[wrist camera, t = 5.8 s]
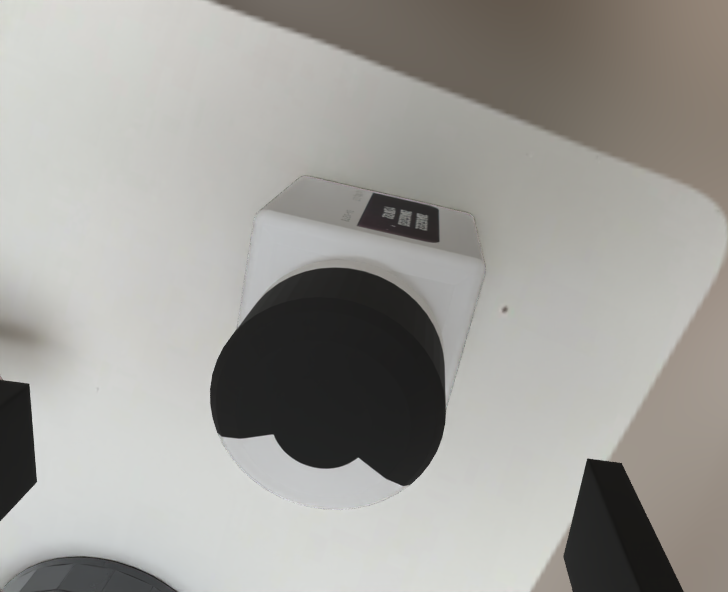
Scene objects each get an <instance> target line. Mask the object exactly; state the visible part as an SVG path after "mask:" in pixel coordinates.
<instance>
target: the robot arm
mask: <svg viewBox="0 0 728 592" xmlns="http://www.w3.org/2000/svg"><path fill="white" fill-rule="evenodd" d="M36 482H37V477H36V464H35V451H34V438H33V425H32V412H31V399H30V386H29V384H27V383H19V382H12V381H4V380H0V521H1V520H2V519H3V518H4V517H5V516H6V514H7V513H8V512H9V511H10V510H11V509H12V508H13V507H14V506H15V505H16V504H17V503H18V502H19V501H20V500H21V498H22V497H23V496H24V495H25V494H26V493H27V492H28V491H29V490H30V489H31V488H32V487H33V486H34V485H35V483H36ZM564 560H565V564H566V568H567V572H568V575H569V579H570V583H571V586H572V590H573V592H683V590H682V587H681V585H680V583H679V581H678V579H677V577H676V575H675V573H674V571H673V569H672V567H671V565H670V563H669V560H668V558H667V556H666V555H665V552H664V550H663V548H662V546H661V544H660V542H659V540H658V538H657V536H656V534H655V531H654V529H653V527H652V525H651V523H650V521H649V519H648V517H647V515H646V513H645V511H644V509H643V507H642V505H641V502H640V501H639V499H638V496H637V494H636V492H635V490H634V488H633V486H632V484H631V482H630V480H629V478H628V476H627V474H626V471H625V469H624V467H623V465H622V463H616V462H609V461H601V460H594V459H587V462H586V466H585V470H584V475H583V479H582V483H581V487H580V491H579V495H578V499H577V503H576V507H575V511H574V516H573V520H572V524H571V528H570V532H569V536H568V540H567V544H566V548H565V553H564Z"/></svg>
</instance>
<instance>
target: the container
mask: <svg viewBox="0 0 728 592" xmlns="http://www.w3.org/2000/svg"><path fill="white" fill-rule="evenodd" d="M485 273H486V266H485V261H484V257H483V253H482V249H481V245H480V240H479V236H478V232H477V228H476V224H475V220H474V218H473V216H472V215H471V214H469V213H467V212H462V211H458V210H453V209H449V208H445V207H440V206H436V205H432V204H427V203H423V202H419V201H414V200H410V199H406V198H401V197H397V196H393V195H388V194H384V193H380V192H375V191H371V190H366V189H362V188H358V187H353V186H349V185H345V184H340V183H336V182H332V181H327V180H323V179H319V178H314V177H310V176H301V177H300V178H298V179H297V180H296V181H295V182H293V183H292V184H291V185H290V186H289V187H287V188H286V189H285V190H284V191H283V192H281V193H280V194H279V195H278V196H277V197H275V198H274V199H273V200H272V201H271V202H269V203H268V204H267V205H266V206H264V207H263V208H262V209H261V210H260V211H258V212H257V213H256V215H255V218H254V222H253V228H252V235H251V241H250V247H249V254H248V260H247V267H246V273H245V279H244V286H243V292H242V299H241V305H240V311H239V318H238V324H237V330H236V331H235V332H234V334H233V335H232V336H231V338H230V339H229V340H228V342H227V343H226V345H225V346H224V347H223V349H222V351H221V353H220V355H219V357H218V359H217V362H216V365H215V368H214V371H213V374H212V381H211V388H210V404H211V410H212V417H213V421H214V424H215V427H216V430H217V433H218V435H219V437H220V439H221V441H222V443H223V446H224V447H225V449H226V450H227V452H228V453H229V455H230V456H231V458H232V459H233V460H234V461H235V463H236V464H237V465H238V466H239V467H240V468H241V470H242V471H243V472H245V473H246V474H247V475H248V476H249V477H250V478H251V479H252V480H253V481H255V482H256V483H258V484H259V485H260V486H262V487H263V488H265V489H266V490H268V491H270V492H272V493H273V494H275V495H277V496H279V497H281V498H283V499H286V500H288V501H291V502H293V503H297V504H300V505H304V506H308V507H314V508H320V509H336V510H342V509H353V508H359V507H364V506H369V505H372V504H375V503H378V502H381V501H384V500H386V499H388V498H390V497H392V496H394V495H396V494H398V493H399V492H401V491H402V490H404V489H405V488H406V487H408V486H409V485H411V484H412V483H413V482H414V481H415V480H416V479H417V478H418V477H419V476H420V475H421V474H422V473H423V472H424V470H425V469H426V468H427V467H428V465H429V464H430V462H431V461H432V459H433V457H434V455H435V454H436V452H437V450H438V447H439V444H440V442H441V439H442V436H443V431H444V426H445V415H446V408H447V405H448V402H449V398H450V395H451V391H452V388H453V384H454V381H455V377H456V374H457V370H458V367H459V363H460V360H461V356H462V353H463V349H464V346H465V342H466V339H467V335H468V332H469V329H470V325H471V322H472V318H473V315H474V311H475V308H476V304H477V301H478V297H479V294H480V290H481V287H482V283H483V280H484V276H485Z"/></svg>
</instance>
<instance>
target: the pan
mask: <svg viewBox="0 0 728 592" xmlns="http://www.w3.org/2000/svg"><path fill="white" fill-rule="evenodd" d="M0 592H176V591H174V590H173V589H172V588H170V587H169V586H167V585H166V584H164V583H163V582H161V581H159V580H158V579H156V578H154V577H152V576H151V575H149V574H147V573H144V572H142V571H140V570H137V569H135V568H133V567H130V566H127V565H124V564H120V563H117V562H113V561H108V560H103V559H96V558H86V557H70V558H61V559H54V560H50V561H46V562H43V563H40V564H37V565H35V566H32V567H30V568H28V569H26V570H24V571H23V572H21V573H19V574H18V575H16V576H15V577H14V578H13V579H12V580H10V581H9V582H8V583H7V584H6V585H5V587H4V588H3V589H2V590H1V591H0Z"/></svg>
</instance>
